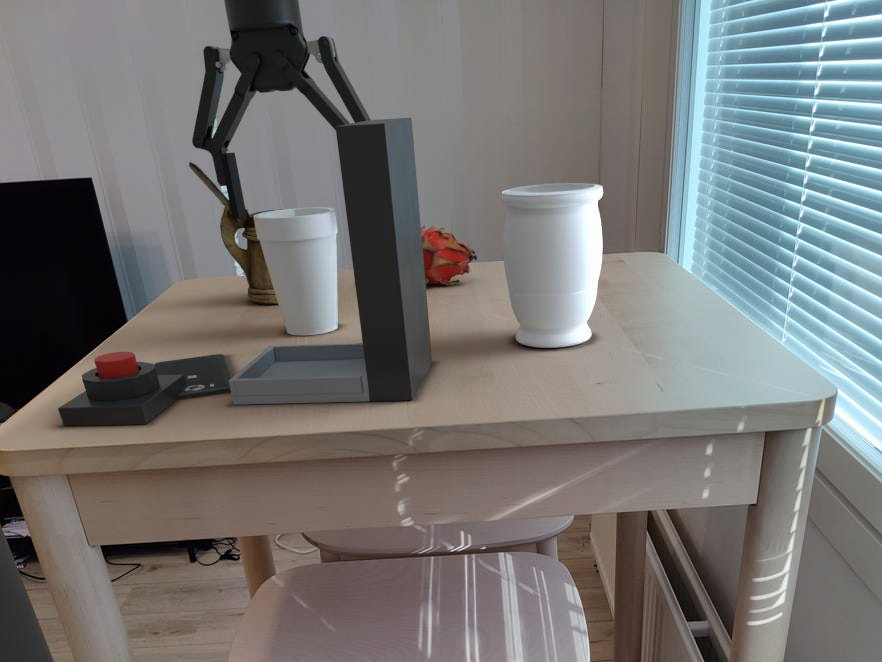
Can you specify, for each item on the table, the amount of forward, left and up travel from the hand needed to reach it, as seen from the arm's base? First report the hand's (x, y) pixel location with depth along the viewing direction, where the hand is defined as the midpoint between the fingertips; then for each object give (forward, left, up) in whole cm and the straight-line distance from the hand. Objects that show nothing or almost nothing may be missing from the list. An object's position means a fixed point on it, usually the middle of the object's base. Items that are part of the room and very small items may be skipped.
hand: (296, 214), depth 99 cm
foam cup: (0, 0, -13) cm, 13 cm away
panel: (-10, -30, -13) cm, 34 cm away
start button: (-10, -30, -10) cm, 33 cm away
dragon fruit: (+12, +26, -13) cm, 31 cm away
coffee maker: (+9, -24, -13) cm, 28 cm away
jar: (+30, -9, -13) cm, 34 cm away
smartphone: (-8, -20, -13) cm, 25 cm away
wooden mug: (-12, +19, -13) cm, 26 cm away
